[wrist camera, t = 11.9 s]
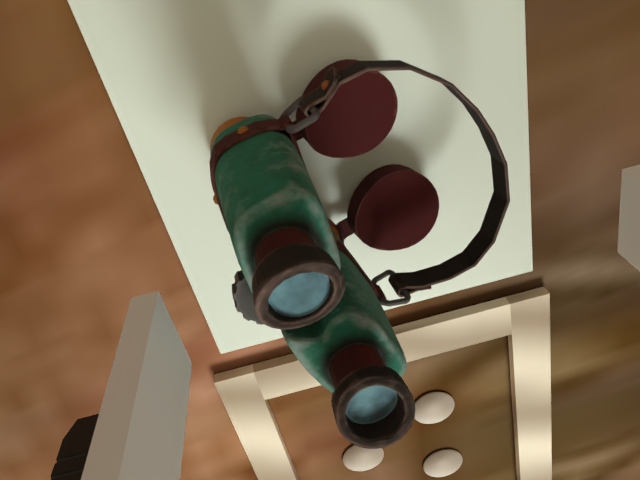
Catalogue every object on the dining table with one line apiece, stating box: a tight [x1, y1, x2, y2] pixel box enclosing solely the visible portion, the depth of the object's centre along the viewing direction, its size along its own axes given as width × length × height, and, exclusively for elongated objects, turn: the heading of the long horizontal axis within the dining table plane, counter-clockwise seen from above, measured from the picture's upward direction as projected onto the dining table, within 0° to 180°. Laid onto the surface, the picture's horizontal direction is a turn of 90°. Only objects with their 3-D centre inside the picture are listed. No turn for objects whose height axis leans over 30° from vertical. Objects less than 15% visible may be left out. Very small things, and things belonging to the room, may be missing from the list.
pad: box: [68, 0, 533, 354], centre depth 23 cm, size 16×15×1 cm
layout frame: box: [214, 287, 552, 480], centre depth 33 cm, size 18×17×1 cm
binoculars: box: [209, 59, 510, 449], centre depth 18 cm, size 9×11×10 cm
